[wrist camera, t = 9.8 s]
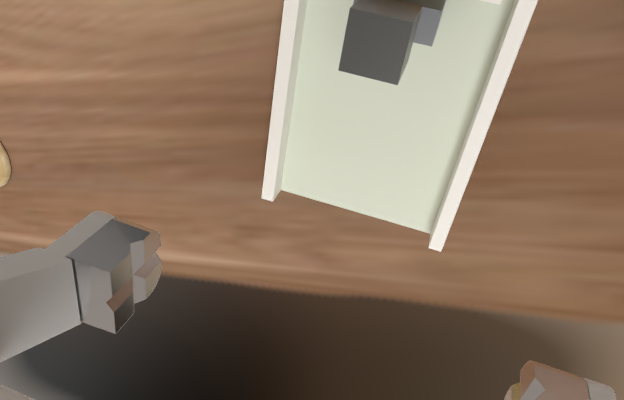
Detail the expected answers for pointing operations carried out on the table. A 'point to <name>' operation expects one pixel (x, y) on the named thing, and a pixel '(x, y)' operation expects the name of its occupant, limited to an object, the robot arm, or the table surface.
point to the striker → (387, 36)
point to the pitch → (389, 113)
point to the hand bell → (4, 166)
